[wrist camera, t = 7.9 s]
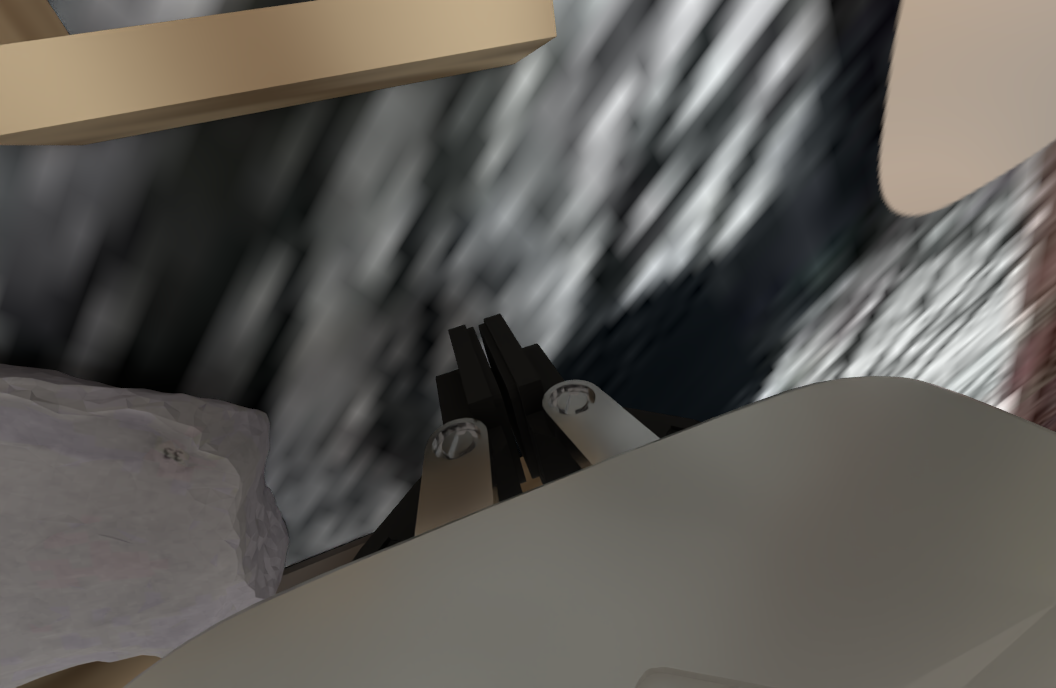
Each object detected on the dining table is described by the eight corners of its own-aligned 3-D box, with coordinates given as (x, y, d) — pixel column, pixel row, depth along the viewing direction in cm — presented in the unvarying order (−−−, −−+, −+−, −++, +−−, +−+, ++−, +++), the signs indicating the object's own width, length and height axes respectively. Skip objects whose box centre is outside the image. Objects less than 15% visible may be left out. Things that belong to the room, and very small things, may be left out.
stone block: (-302, 302, 9) (-176, 638, 11) (-952, 366, 4) (-524, 896, 7) (293, 327, 13) (295, 557, 16) (258, 370, 9) (268, 676, 11)
